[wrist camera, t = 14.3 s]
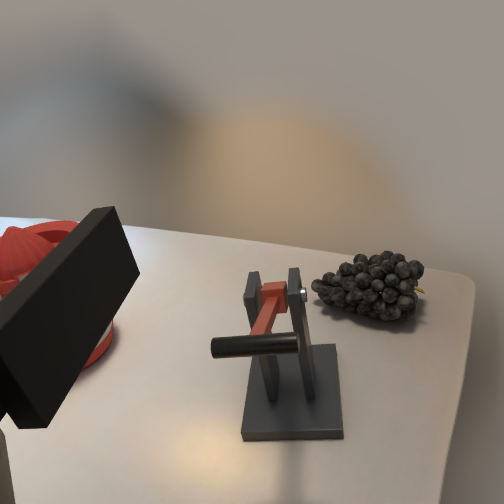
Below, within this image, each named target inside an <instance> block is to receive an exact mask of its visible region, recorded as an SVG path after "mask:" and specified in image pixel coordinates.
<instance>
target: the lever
mask: <svg viewBox="0 0 504 504" xmlns="http://www.w3.org/2000/svg"><path fill="white" fill-rule="evenodd" d="M260 292H261V299H262V306H263V307H262V309H261V311H260V313H259V316H258V318H257V320H256V322H255V324H254V326H253V328H252V330H251V332H250V334H249V335H246V336H232V337H218V338H213V339H212V341H211V354H212V357H213V358H214V359H218V358H234V357H250V356H266V355H282V354H299V353H300V342H299V335H298V332H288V333H274V334H270V332H271V329H272V326H273V323H274V321H275V318H276V315H277V314H278V313H287V309H288V306H289V302H288V296H287V284H286V281H281V282H271V283H264V285H263V287H262V289H261V290H260Z"/></svg>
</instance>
